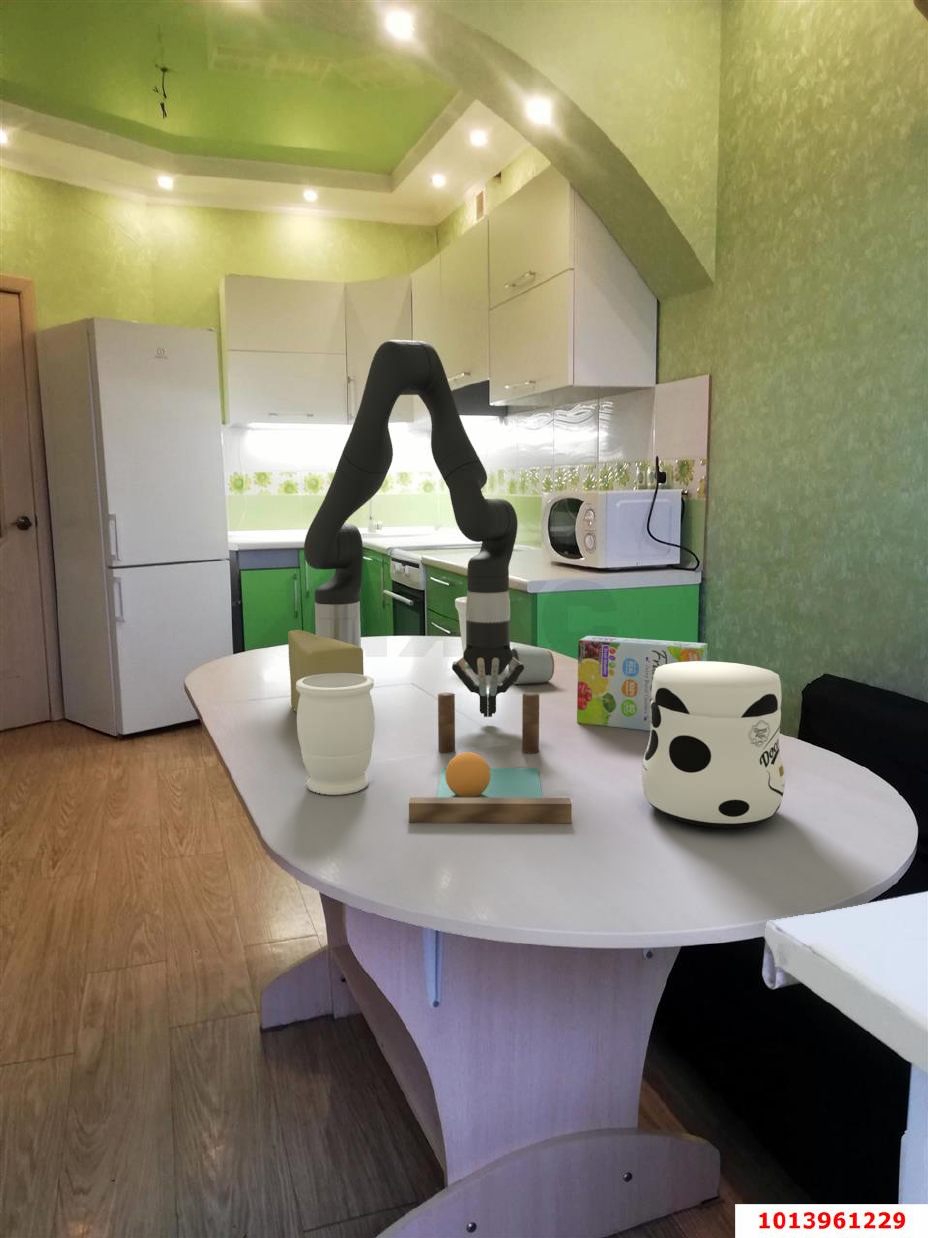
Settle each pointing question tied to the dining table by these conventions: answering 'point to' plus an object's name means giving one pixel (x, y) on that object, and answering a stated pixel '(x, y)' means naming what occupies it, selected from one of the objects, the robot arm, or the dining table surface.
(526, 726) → the right post
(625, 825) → the dining table surface
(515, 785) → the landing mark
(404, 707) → the dining table surface
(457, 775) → the ball
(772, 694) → the spotted treat canister
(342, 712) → the jar
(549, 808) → the rail
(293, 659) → the cheese
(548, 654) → the ceramic mug
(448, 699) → the left post
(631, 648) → the snack box
